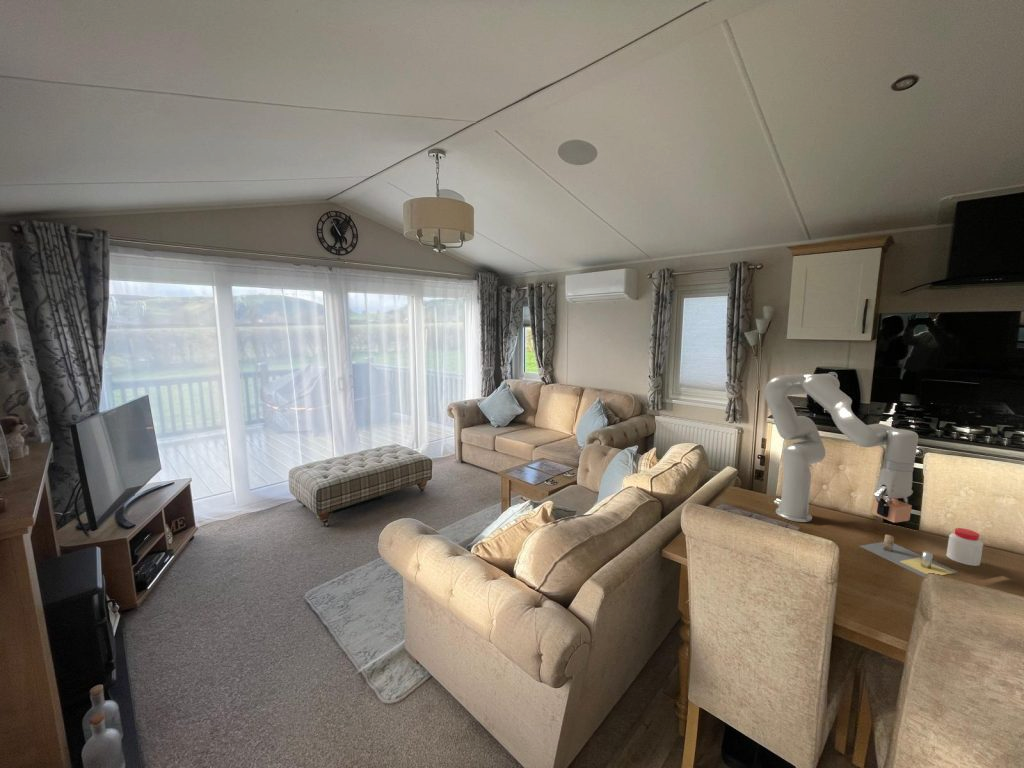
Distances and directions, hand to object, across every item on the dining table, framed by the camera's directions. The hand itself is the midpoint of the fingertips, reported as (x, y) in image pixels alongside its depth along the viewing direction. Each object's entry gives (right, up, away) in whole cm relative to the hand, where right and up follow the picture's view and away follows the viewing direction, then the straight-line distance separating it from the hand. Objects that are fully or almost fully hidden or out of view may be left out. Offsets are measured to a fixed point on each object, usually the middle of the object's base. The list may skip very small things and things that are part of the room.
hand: (890, 513), depth 143 cm
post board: (+2, -15, -4) cm, 15 cm away
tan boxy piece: (0, -1, 0) cm, 1 cm away
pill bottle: (+20, -15, -4) cm, 26 cm away
